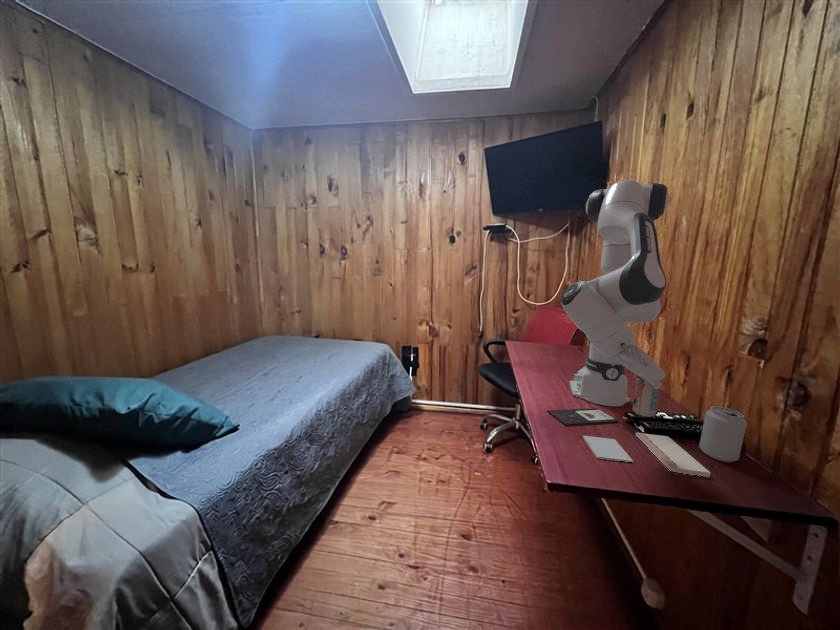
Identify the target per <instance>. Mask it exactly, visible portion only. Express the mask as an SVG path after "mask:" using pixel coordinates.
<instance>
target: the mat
mask: <svg viewBox="0 0 840 630" xmlns="http://www.w3.org/2000/svg"><path fill="white" fill-rule="evenodd" d="M582 439H583V440H584V441H585V442H586V444H587V446H588V447H589V448H590V450H591V452H592V454H593V455H594V456H595V458H596V459H599V460H605V459H606V461H613V460H614V461H613V462H620V461H625V462H624V463H628V462H632V463H631V464H634V460H633V459H632V457H630V456H629V454H628V453H627V451H626V450H624V448H623V447H622V445H621V444H620V443H619V442H618V441H617V440H616V439H615V438H606V437H601V436H599V437H597V436H590V435H583V436H582Z"/></svg>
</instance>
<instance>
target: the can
mask: <svg viewBox="0 0 840 630" xmlns="http://www.w3.org/2000/svg"><path fill="white" fill-rule="evenodd" d="M709 408H710V409H708V410H707V411H706V412H705V415H704V421H703V424H702V431H701V434H700V440H699V444H698V447H699V449H700V450H701V451H702V452H703V454H704V455H706V456H707V457H708V458H709V457H710V458H712V459H714V460H717V461H720V462H723V463H733V462H736V461H739V459H740V456H741V455H740V454H741V451H742V445H743V440H744V438H745V437H744V436H745V433H746V427H747V421H746V419H744V418H745V415H744V414H743V413H742V412H740V411H738V410H735V409H733V408H728V407H723V406H717V405H714V406H713V405H712V406H710V407H709Z"/></svg>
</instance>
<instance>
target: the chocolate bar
mask: <svg viewBox="0 0 840 630" xmlns="http://www.w3.org/2000/svg"><path fill="white" fill-rule="evenodd" d="M546 412H547V413H548V414H549V415H550V416H552V418H554V419H556V420H557V421H558V422H559V423H560V424H562V425H563V426H564V427H571V426H586V425H587V426H588V425H589V426H590V425H605V424H606V425H607V423H608V424H619V420H618V419H615V418H614V417H613V416H610V415H609V414H608V413H607V414H606V413H605V412H603V410H601V409H599V408H597V407H593V408H592V407H589V408H572V409H571V408H570V409H555V410H554V409H553V410H546Z"/></svg>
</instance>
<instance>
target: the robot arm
mask: <svg viewBox="0 0 840 630" xmlns="http://www.w3.org/2000/svg"><path fill="white" fill-rule="evenodd" d="M669 203H670V194H669V190H668V187H667V186H666V184H665V183H664V184H663V183H657V182H652V183H651V184H650V183H640V182H638V181H636V180H634V179H633V180H632V179H623V180H620V181H617V182H615V183H614V184H612V185H611V186H610V187H608V188H605V189H604V188H600V189H597V190H594V191H593V192H592V193H590V194H589V196H588V198H587V201H586V203H585V212H586V216H587V218H588V219H589V220H590V222H592V223H593V222H594V223H597V233H598V235H599V236H600V238H601V239H602V240H603V244H602V250H601V251H602V252H601V259H600V260H601V261H600V271H601V272H602V273H603V275H601V276H598V277H596V278H593V279H591V280H586V281H584V280H578V281H577V282H574V283H573V284H571V285H570V286H569V287H568V288H567V289H565V291H564V292H563V293H562V296H561V298H560V304H561V306H562V309H563V310H564V312H565V314H566V315H567V316H568V318H569V319H570V320H571V322H572V323H573V324H574V325H575V326H576V327H577V329H579V331H581V332H583V333H584V334H585V336H586V337H587V340H588V341H589V352H588V353H589V354H588V356H587V357H586V360H585V364H584V365H585V366H583V367H582V368H580V369H579V370H578V371H577V373H574V374H573V380H570V381H569V386H570V387H569V388H570V391H571V393H572V394H571V395H572V396H573V397H576V398H580V399H583V400H585V401H588V402H590V403H593V404H597V405H601V406H606V407H622V406H624V405H625V404H627V403H630V402H631V398H629V397H628V377H626V376H625V374H626V369H627V370H629V371H630V372H632V373H633V374H634V375H635V376H636V377H637V375H638V376H639V377H641V378H642V379H644V380H645V381H647V382H648V383H649V384H650V385H651V386H652V387H653V388H654V389H658V388H659V389H660V388H661V387H662V386H663V383H662V382H661V381H662V380H663V379H665V378H666V377H667V376H666V373H665V371H664V370H663V369H662V368H661V367H660V366H659V365H658V363H657V362H656V361H654V359H653V358H652V357H651V356H650V355H649V354H647V352H646V351H644V350H643V349H641V348H639V347H637V346H636V342H635V340H636V338H637V335H636V334H635V333H634V331H633V330H632V328H630V327H629V326H628V325H627V323H629V324H643V323H651V322H653V321H654V320H655V319H657V317H658V316H659V314H660V312H661V302H660V298H661V297H662V296H663V294H664V291H665V290H666V286H667V278H666V274H665V272H664V270H663V267H662V263H661V262H662V261H661V256H660V255H661V254H660V247H659V238H658V233H657V227H656V225H655V222H654V221H656V220H658V219H659V218H660V217H661V216H663V215H664V213H665V211H666V210H667V208H668V206H669ZM659 381H660V382H659Z"/></svg>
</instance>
